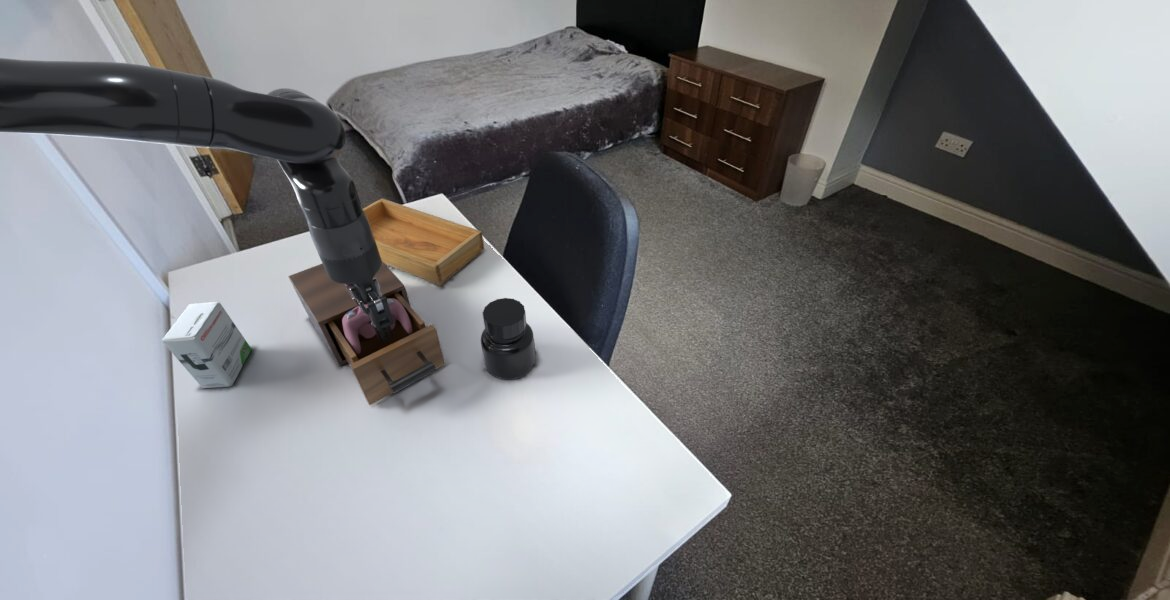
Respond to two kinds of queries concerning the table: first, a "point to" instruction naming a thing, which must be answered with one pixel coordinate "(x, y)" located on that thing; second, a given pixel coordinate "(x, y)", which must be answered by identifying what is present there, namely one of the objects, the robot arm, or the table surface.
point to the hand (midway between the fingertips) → (377, 327)
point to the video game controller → (358, 324)
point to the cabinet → (335, 299)
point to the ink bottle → (507, 339)
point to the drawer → (391, 355)
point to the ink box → (208, 344)
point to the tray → (421, 241)
